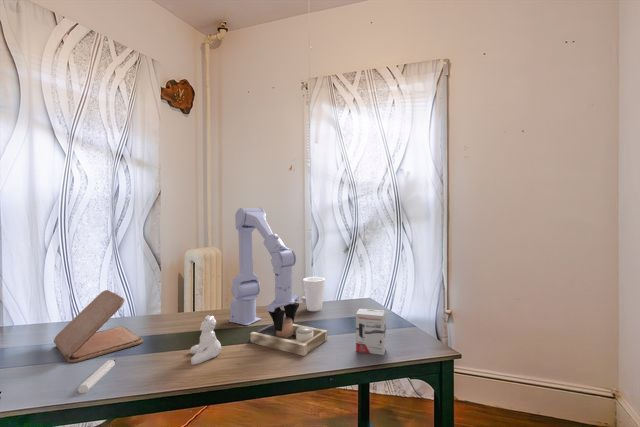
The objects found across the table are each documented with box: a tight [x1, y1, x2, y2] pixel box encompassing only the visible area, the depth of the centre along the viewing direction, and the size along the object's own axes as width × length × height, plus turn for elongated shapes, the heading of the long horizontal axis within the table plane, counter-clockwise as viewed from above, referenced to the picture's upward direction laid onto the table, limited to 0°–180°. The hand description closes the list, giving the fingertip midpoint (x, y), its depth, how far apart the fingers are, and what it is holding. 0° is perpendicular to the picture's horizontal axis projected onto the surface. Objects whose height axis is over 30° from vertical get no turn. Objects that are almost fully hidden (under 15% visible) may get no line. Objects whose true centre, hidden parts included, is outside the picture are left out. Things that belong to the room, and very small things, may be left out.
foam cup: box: [302, 276, 326, 312], centre depth 143 cm, size 10×9×13 cm
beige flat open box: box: [250, 323, 329, 356], centre depth 108 cm, size 21×14×3 cm
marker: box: [77, 359, 116, 394], centre depth 86 cm, size 3×2×16 cm
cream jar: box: [295, 325, 313, 343], centre depth 105 cm, size 6×6×5 cm
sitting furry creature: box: [189, 314, 222, 366], centre depth 98 cm, size 10×9×12 cm
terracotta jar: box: [275, 316, 294, 339], centre depth 109 cm, size 6×6×5 cm
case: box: [53, 289, 144, 364], centre depth 107 cm, size 20×21×16 cm
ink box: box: [355, 308, 387, 356], centre depth 100 cm, size 8×5×12 cm, turn 72°
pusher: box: [256, 322, 276, 336], centre depth 113 cm, size 4×10×4 cm, turn 150°
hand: (284, 327), depth 109 cm, fingers closed on terracotta jar, 5 cm apart
